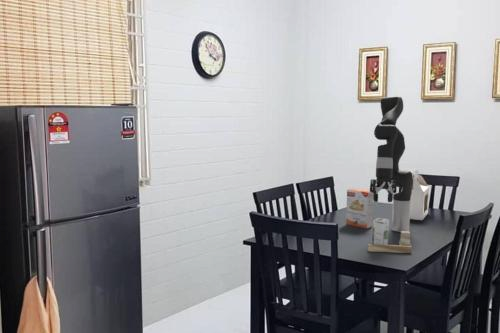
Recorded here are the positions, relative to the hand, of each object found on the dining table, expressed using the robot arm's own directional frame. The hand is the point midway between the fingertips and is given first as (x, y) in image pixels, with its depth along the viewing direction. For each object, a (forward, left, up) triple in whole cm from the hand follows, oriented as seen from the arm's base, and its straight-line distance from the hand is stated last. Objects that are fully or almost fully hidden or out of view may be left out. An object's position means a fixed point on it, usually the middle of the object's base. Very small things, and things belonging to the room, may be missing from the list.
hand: (382, 202), depth 236 cm
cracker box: (-50, -6, -24) cm, 56 cm away
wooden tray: (-6, +4, -23) cm, 24 cm away
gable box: (-83, +31, -24) cm, 92 cm away
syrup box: (-4, 0, -24) cm, 24 cm away
